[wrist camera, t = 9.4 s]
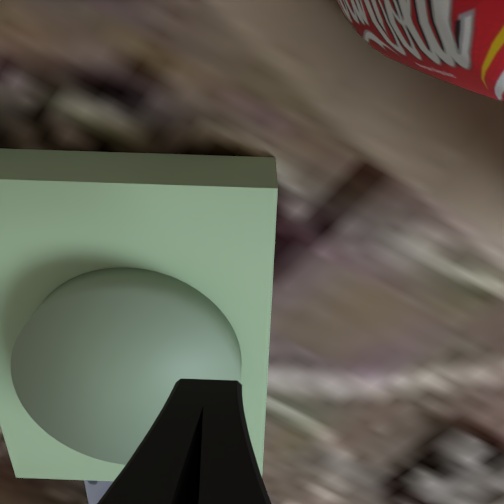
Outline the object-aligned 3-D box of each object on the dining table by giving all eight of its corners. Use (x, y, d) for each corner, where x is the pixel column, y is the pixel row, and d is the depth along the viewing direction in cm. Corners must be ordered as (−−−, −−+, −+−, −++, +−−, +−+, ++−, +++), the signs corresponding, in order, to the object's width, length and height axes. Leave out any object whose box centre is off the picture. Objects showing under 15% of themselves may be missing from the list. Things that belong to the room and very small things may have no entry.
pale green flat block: (261, 425, 24) (261, 519, 20) (-69, 413, 24) (-143, 503, 20) (275, 157, 18) (279, 206, 13) (-172, 142, 18) (-316, 186, 14)
